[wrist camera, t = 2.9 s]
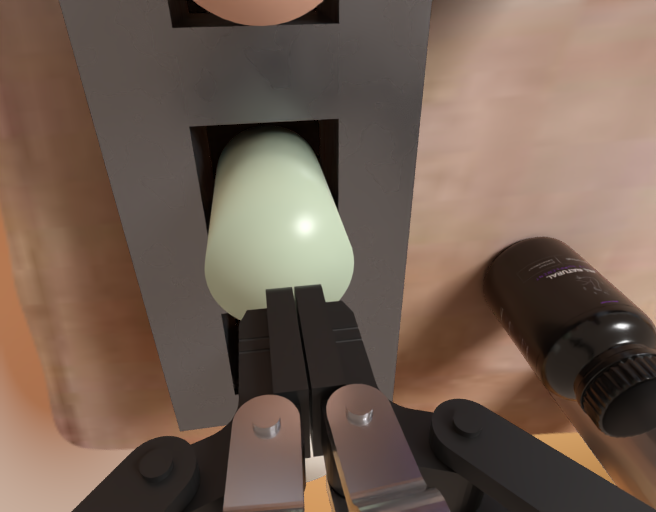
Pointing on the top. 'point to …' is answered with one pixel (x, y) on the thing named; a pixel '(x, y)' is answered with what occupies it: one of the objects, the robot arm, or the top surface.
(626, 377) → the supplement bottle
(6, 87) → the top surface
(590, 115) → the top surface
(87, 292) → the top surface
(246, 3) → the peach rounded peg
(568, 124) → the top surface
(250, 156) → the pale green rounded peg
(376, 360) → the three peg holder
